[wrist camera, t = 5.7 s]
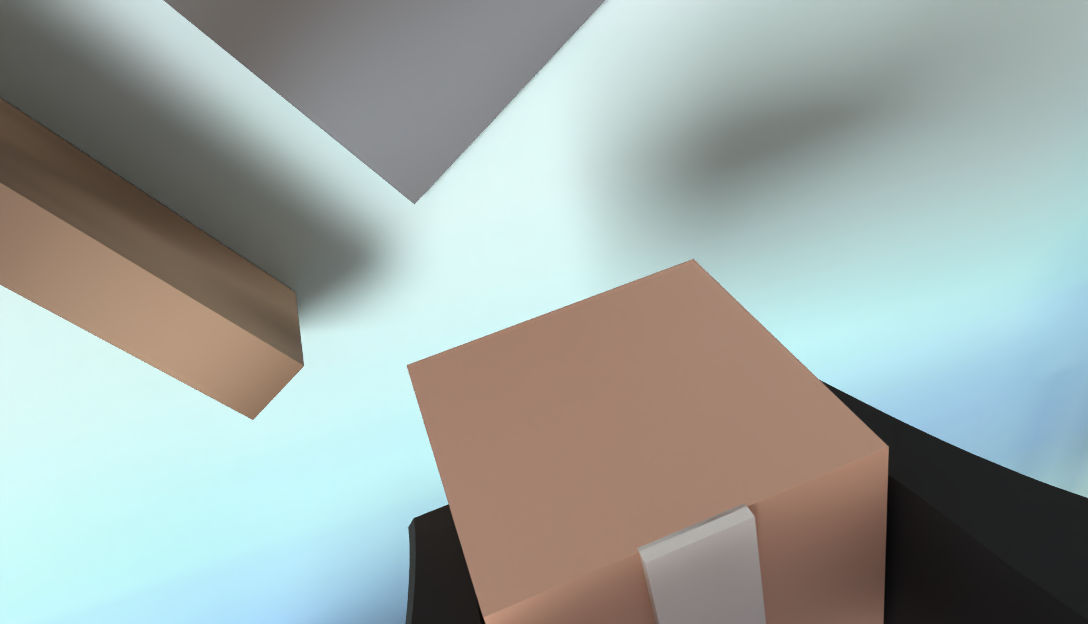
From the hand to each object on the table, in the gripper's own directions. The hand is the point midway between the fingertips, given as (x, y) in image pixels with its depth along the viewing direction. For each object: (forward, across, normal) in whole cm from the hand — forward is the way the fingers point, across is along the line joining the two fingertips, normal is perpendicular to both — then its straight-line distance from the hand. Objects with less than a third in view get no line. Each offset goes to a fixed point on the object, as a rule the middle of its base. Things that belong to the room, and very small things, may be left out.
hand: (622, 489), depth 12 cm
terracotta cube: (+2, 0, 0) cm, 2 cm away
